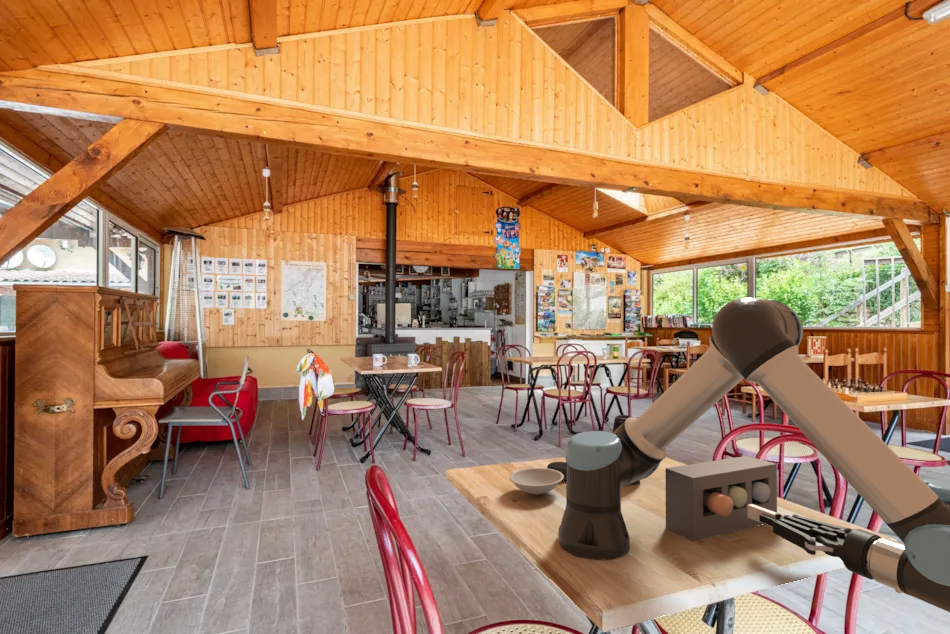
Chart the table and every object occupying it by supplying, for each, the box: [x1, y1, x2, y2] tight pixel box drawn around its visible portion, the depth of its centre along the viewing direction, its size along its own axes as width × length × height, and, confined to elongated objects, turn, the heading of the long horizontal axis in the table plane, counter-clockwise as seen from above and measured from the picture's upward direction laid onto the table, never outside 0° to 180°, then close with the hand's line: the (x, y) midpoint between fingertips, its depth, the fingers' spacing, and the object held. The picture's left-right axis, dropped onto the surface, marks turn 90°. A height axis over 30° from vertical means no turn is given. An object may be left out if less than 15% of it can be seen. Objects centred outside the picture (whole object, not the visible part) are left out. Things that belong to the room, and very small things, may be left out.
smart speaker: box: [546, 461, 566, 480], centre depth 152 cm, size 9×9×4 cm
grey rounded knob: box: [738, 480, 770, 502], centre depth 117 cm, size 4×6×4 cm
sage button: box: [715, 485, 747, 507], centre depth 114 cm, size 4×6×4 cm
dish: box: [509, 467, 564, 495], centre depth 137 cm, size 18×14×5 cm
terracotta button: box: [703, 492, 733, 517], centre depth 109 cm, size 4×6×4 cm
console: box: [665, 455, 778, 542], centre depth 116 cm, size 28×8×14 cm, turn 114°
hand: (749, 510), depth 104 cm, fingers closed
